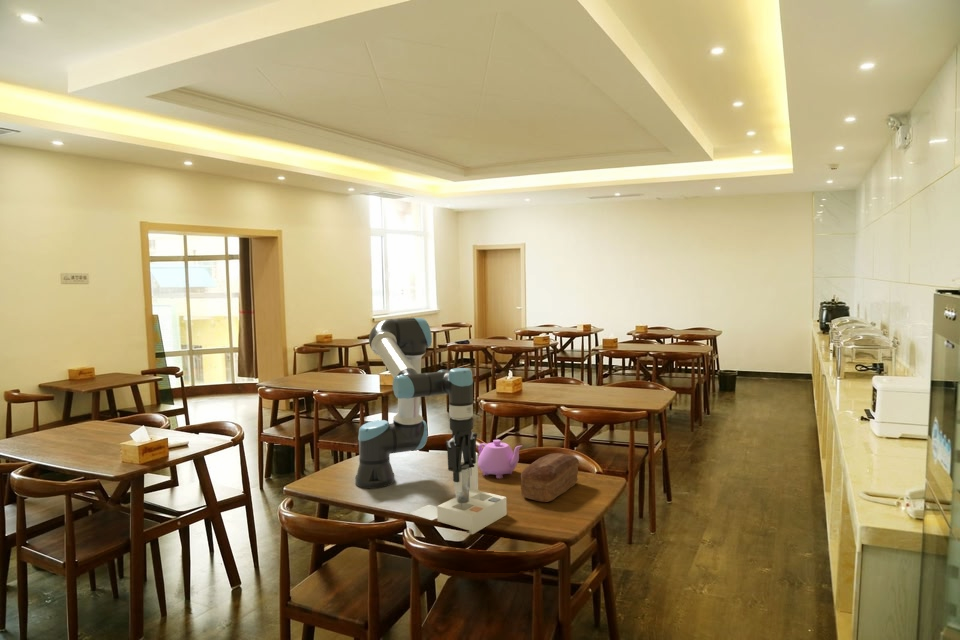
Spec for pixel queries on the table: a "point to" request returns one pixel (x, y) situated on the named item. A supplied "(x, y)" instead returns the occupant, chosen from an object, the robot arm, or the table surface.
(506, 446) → the teapot
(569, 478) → the bread
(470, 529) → the socket block
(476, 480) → the cup
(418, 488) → the table surface
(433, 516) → the white flat square plate
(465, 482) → the plug
